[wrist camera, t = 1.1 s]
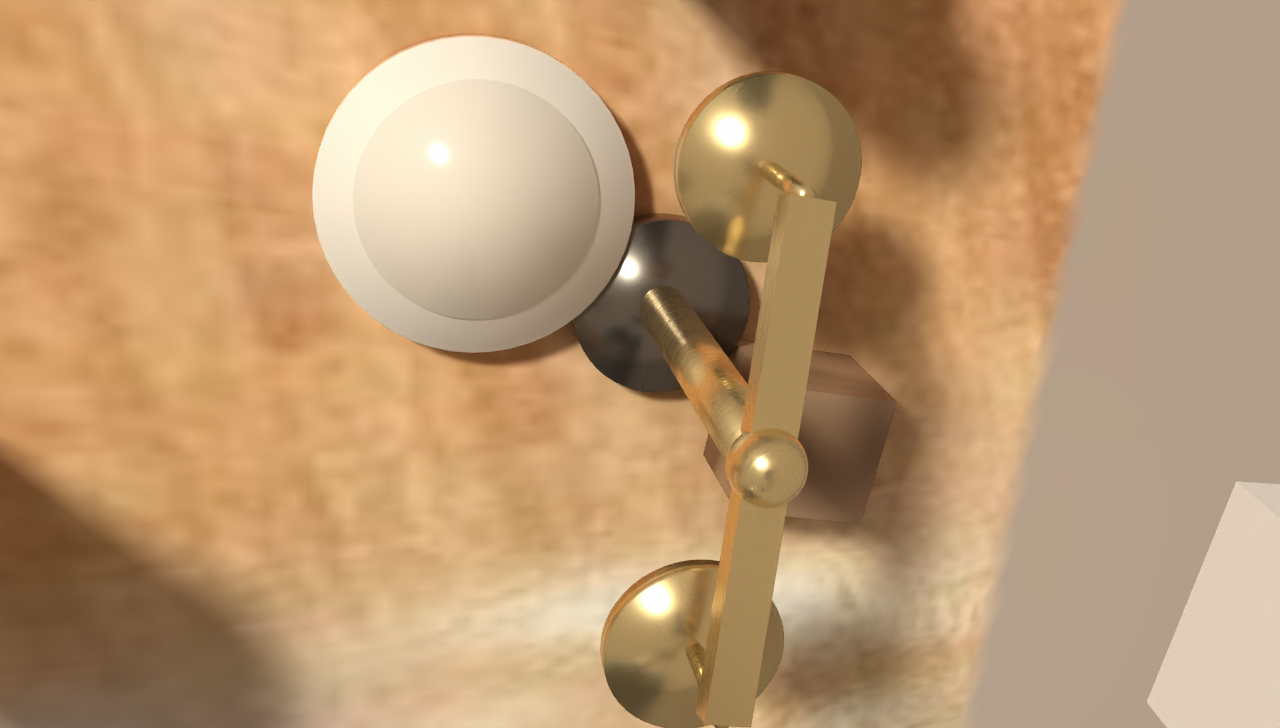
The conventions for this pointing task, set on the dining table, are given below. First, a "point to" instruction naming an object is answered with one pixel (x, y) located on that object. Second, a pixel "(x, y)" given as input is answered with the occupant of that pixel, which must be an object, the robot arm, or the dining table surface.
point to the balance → (725, 378)
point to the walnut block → (829, 436)
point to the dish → (473, 193)
